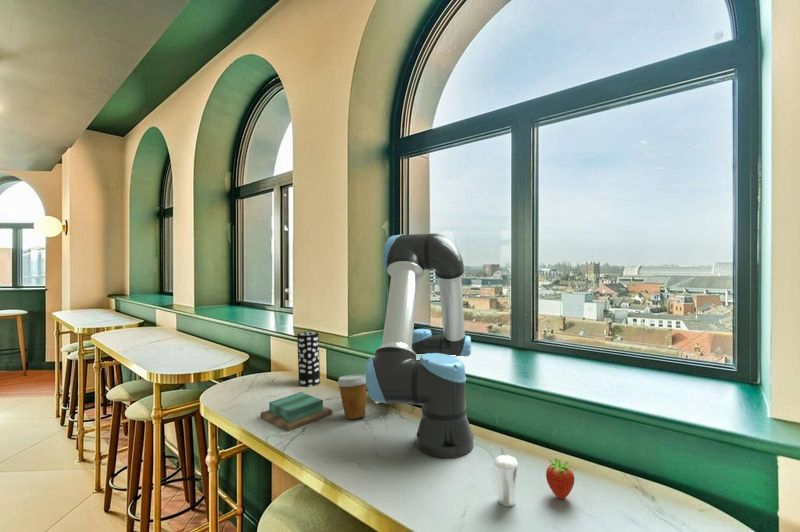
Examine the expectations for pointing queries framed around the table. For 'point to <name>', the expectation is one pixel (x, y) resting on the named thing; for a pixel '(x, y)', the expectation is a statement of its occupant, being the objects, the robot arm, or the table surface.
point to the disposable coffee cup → (353, 395)
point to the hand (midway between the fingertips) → (360, 394)
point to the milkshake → (506, 478)
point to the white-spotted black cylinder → (308, 358)
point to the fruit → (560, 479)
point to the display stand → (295, 411)
